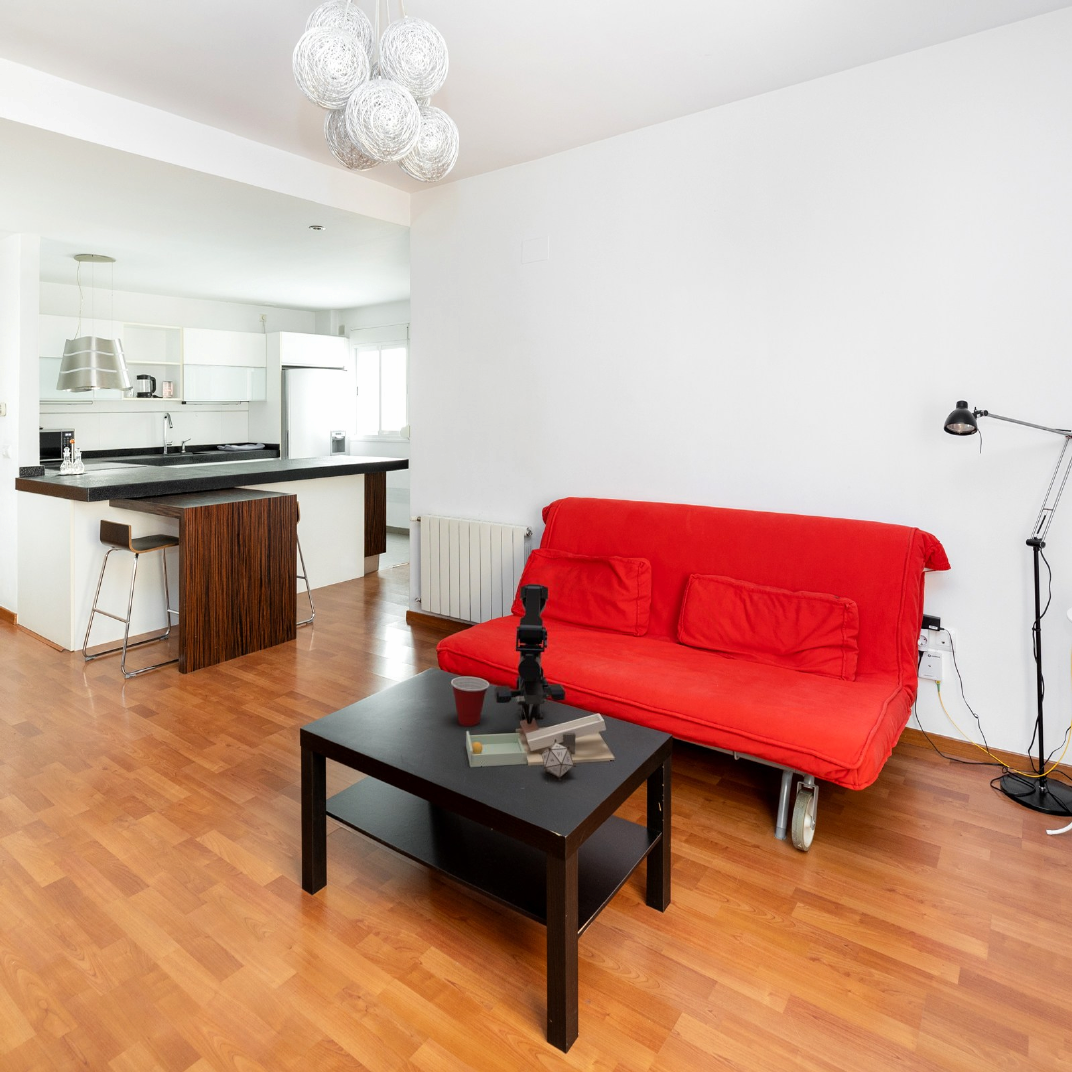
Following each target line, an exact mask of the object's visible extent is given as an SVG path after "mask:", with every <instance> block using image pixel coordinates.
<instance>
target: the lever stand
mask: <svg viewBox="0 0 1072 1072" xmlns="http://www.w3.org/2000/svg"><path fill="white" fill-rule="evenodd" d="M562 723H563V722H562ZM562 723H557V725H559V724H562ZM548 727H549V726H545V727H538V728H539V730H541V729H544V728H548ZM515 733H520V740H521V743H522V746H523V748H524V751H526V752H527V766H541V765H542V766H544V763H543V759H542V755H540V754H539V752H540V753H543V752H544V751H545V750H547V749H548V748H549V747H550V746H547V747H543V748H540V749H536V750H533V751H531V750H530V747H529V745H528V742H527V739H526V737H525V734H524V732H523V729H522V728H515ZM575 736H576V735H575V733H567V734H563V742H561V743H558V744H560V745H563V746H565V747H567V748H568V746H570V748H569V751H571V750H572V752H571V757H572V760H573V764H579V763H596V762H597V763H599V762H611V761H610V760H614V761H615V756H614V753H612V751H611V749H610V748H609V747H608V745H607V744H606V742H605V740H604V739H603V738H602V736H601V734H600V733H599V732H597V733H593V734H590V735H586V736H582V737H579V738H575Z"/></svg>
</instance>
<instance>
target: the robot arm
mask: <svg viewBox="0 0 1072 1072" xmlns="http://www.w3.org/2000/svg"><path fill="white" fill-rule="evenodd" d="M519 590H520V593H519V600H520V601H522V608H523V610H524V615H523V616H522V617H521V618H520V619H519V625H517V626H516V636H515V637H516V640H515V652H519V661H518V666H517V672H518V676H517V675H516V684H515V685H516V689H511V688H510V686H509V685H503V686H501V685H498V686H496V687H495V688H494V690H493V691H494V692H493V693H494V694H493V696H494V699H495V702H496V703H497V704H509V703H510V702H511V701H512V698H514V699H515V702H516V704H517V705H518V706H520V709H518V711H517V712H518V715H519V717H520V720H521V721H523V720H526V721H527V724H531V723H532V720H533V718H534V719H535V720H537V719H538V720H543V719H544V715H543V713H542V708H541V706H542V705H544V704H545V699H549V698H551V699H552V700H553V702H554V701H558V702H559V701H560V702H561V701H566V690H565V689H564V687H563V686H562V684H560V683H553V684H550V683H549V682H548V680H547V678H546V676H544V675H545V674H544V672H545V671H544V669H543V666H542V653H545V651H546V649H547V648H548V630H547V628H546V627H545V626H544V619H543V618H542V617H541V615H542V613H543V612H544V611H545V610H546V608H547V607H546V605H547V602H548V601H549V587H547V586H545V585H542V584H540V583H528V584H524V585H523V586H520V588H519ZM545 648H546V649H545Z"/></svg>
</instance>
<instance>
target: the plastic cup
mask: <svg viewBox="0 0 1072 1072" xmlns="http://www.w3.org/2000/svg"><path fill="white" fill-rule="evenodd" d="M450 684H451V686H452V690H453V695H454V702H455V708H456V709H455V710H456V714H457V719H458V720H457V721H458V723H459V725H461V726H463V727H473V726H476V725H478V724H480V720H481V715H482V711H483V706H484V702H485V696H486V693H487V690H488V688H489V687H490V683H489V682H488V680H485V679H483V678H480V677H475V676H459V677H455V678H453V679H452V680H451V683H450Z"/></svg>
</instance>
